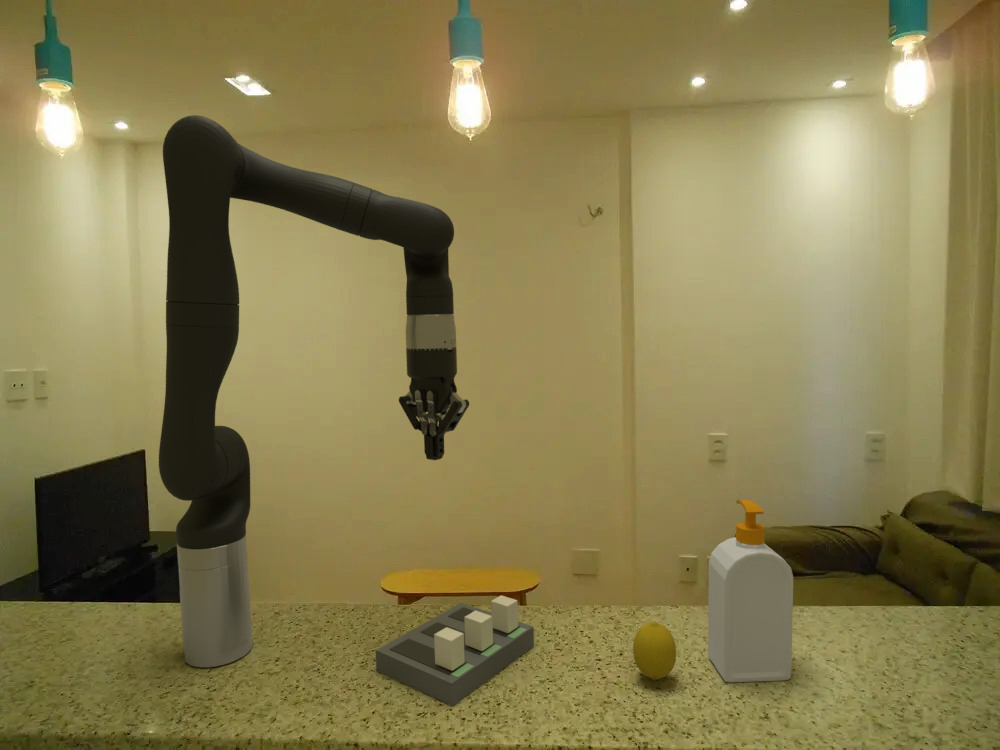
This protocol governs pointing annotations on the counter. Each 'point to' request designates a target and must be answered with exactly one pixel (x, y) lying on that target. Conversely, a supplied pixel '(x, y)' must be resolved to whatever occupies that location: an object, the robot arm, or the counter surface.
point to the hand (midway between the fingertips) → (434, 458)
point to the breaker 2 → (504, 613)
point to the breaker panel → (417, 668)
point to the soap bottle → (750, 606)
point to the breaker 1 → (449, 648)
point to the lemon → (654, 650)
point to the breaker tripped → (478, 630)
